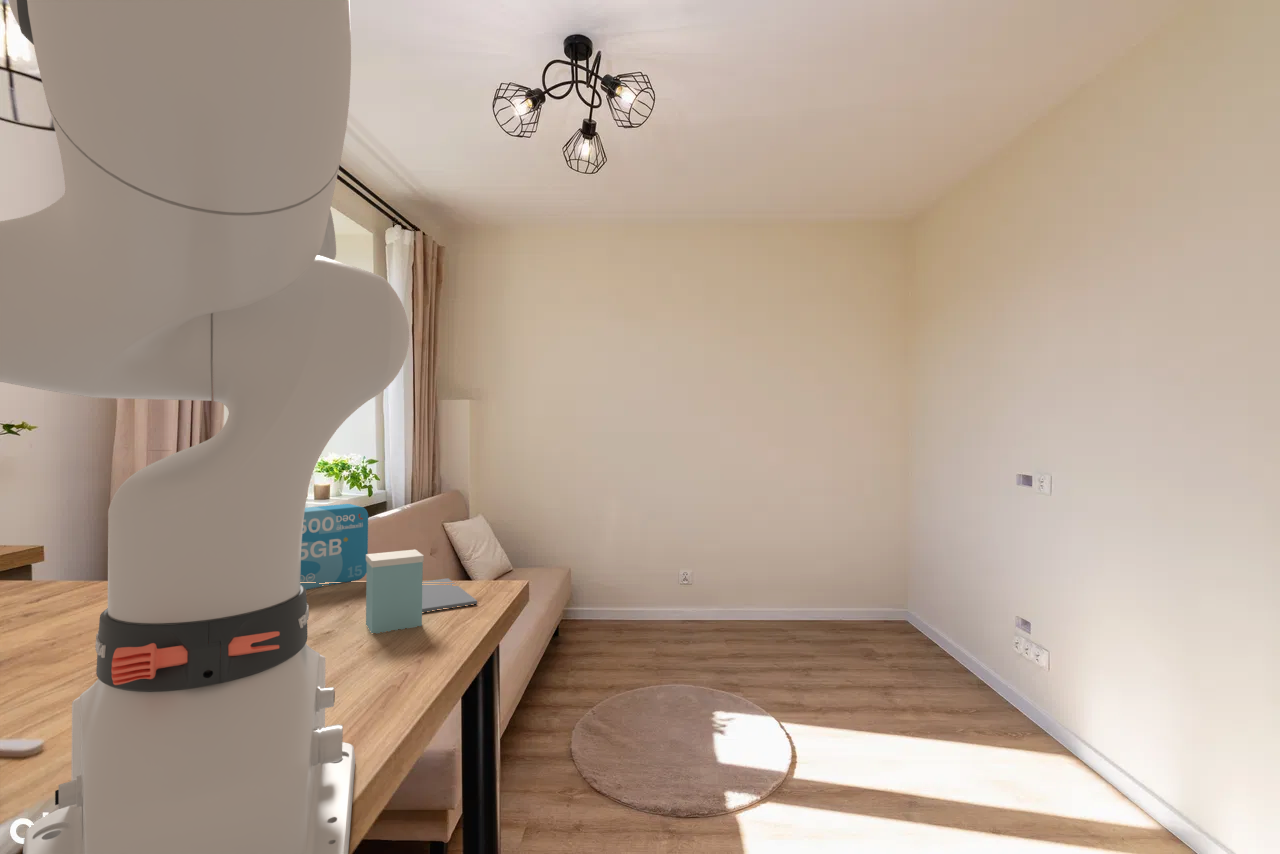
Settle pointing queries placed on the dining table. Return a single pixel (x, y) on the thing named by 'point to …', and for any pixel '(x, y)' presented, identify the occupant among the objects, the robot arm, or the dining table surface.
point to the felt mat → (444, 596)
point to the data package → (334, 544)
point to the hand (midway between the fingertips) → (226, 302)
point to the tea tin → (394, 590)
